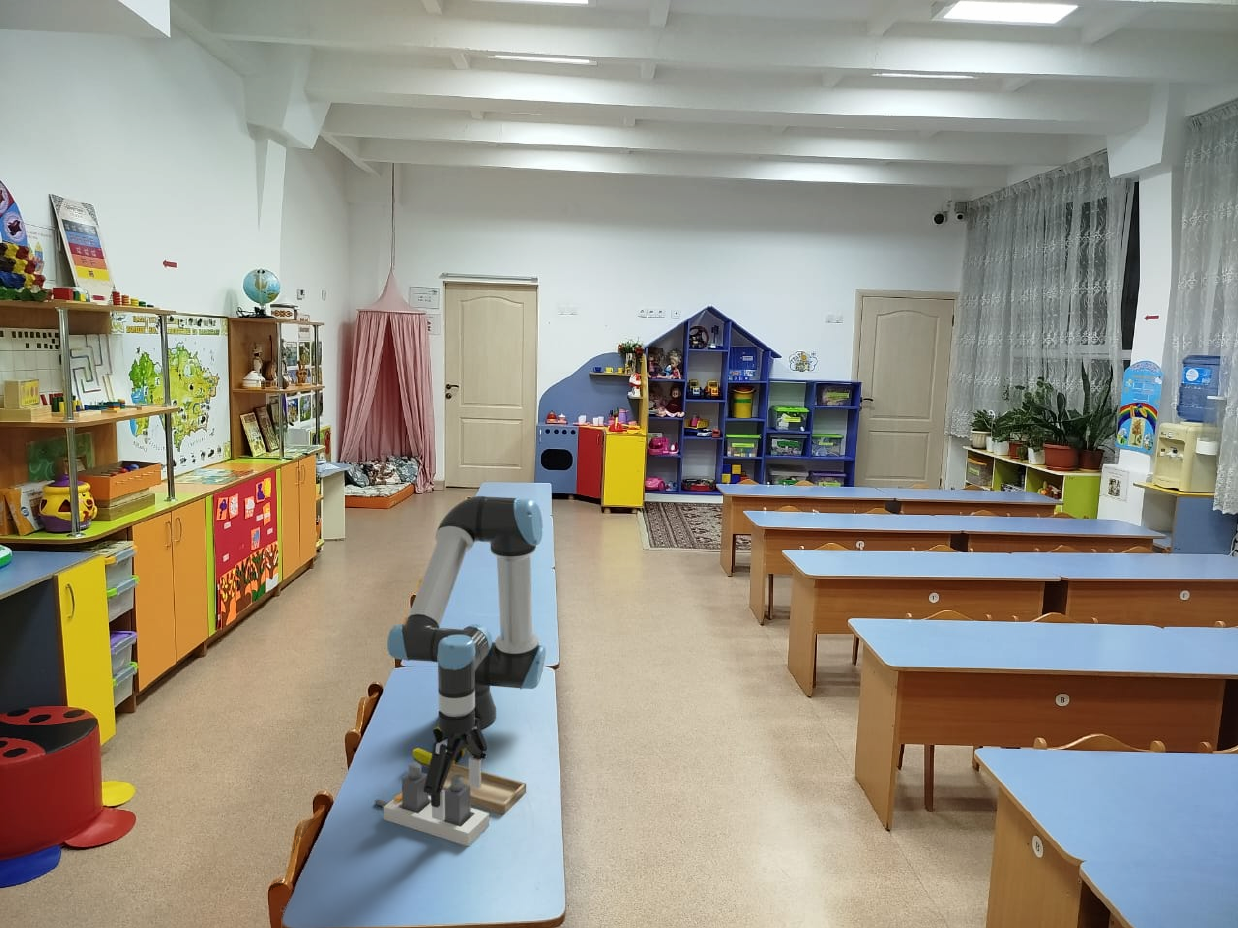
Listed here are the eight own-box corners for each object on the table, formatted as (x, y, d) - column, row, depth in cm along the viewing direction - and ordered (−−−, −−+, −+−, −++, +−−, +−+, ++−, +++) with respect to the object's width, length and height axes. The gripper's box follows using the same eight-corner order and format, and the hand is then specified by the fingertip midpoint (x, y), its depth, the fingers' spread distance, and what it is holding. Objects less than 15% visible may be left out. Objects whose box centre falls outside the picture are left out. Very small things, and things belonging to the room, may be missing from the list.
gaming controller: (409, 772, 202) (446, 778, 200) (408, 750, 201) (446, 757, 199) (436, 742, 216) (472, 748, 214) (436, 722, 215) (472, 728, 213)
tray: (450, 770, 203) (450, 762, 202) (526, 792, 194) (526, 783, 194) (425, 791, 194) (425, 782, 193) (503, 814, 185) (503, 805, 185)
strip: (387, 794, 192) (386, 779, 191) (489, 825, 181) (489, 809, 180) (363, 812, 185) (363, 796, 184) (468, 846, 174) (468, 829, 173)
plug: (470, 824, 181) (470, 775, 179) (459, 834, 177) (459, 784, 175) (454, 819, 182) (454, 771, 180) (444, 829, 178) (443, 780, 177)
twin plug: (413, 806, 186) (413, 759, 184) (428, 811, 185) (428, 763, 183) (402, 816, 183) (401, 768, 181) (417, 821, 181) (416, 772, 179)
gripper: (474, 682, 188) (474, 769, 191) (404, 731, 165) (406, 828, 169) (503, 689, 185) (503, 777, 188) (435, 739, 162) (437, 838, 166)
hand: (457, 801), depth 179 cm, fingers open, 13 cm apart
